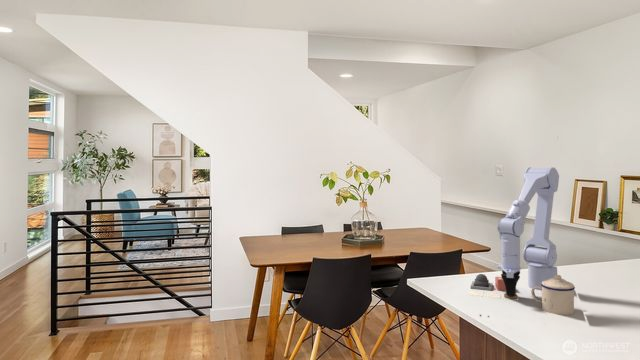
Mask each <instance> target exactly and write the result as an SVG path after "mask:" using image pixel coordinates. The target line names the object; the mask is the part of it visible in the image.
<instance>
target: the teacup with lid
mask: <svg viewBox="0 0 640 360" xmlns="http://www.w3.org/2000/svg"><path fill="white" fill-rule="evenodd" d="M541 286H542V287H541ZM541 286H535V287H533V288H531V296H532V298H533V299H534V300H535V301H536V302H538V303H541V309H542V310H543V311H545V312H546V313H549V314H552V315H562V316H563V315H564V316H567V315H568V316H569V315H573V314H574V313H575V289H576V287H575V285H574V284H573V283H572V282H570V281H567V280H566V279H564V278H562V275H560V274H557V275H554V278H550V279H549V280H544V281H542V283H541ZM537 289H542V290H541V299H540V298H538V297H537V295H536V294H535V290H537Z"/></svg>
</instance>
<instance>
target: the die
mask: <svg viewBox="0 0 640 360" xmlns="http://www.w3.org/2000/svg"><path fill="white" fill-rule="evenodd" d="M494 280H495V282H494V286H495V289H496V290H497V291H501V292H502V291H503V292H506V288H505V283H504V281H503V279H502V277H501V276H495V277H494Z"/></svg>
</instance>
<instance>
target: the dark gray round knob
mask: <svg viewBox="0 0 640 360" xmlns="http://www.w3.org/2000/svg"><path fill="white" fill-rule="evenodd" d="M474 281H475V285H474V286H479V287H489V283H490V280H489V279H488V277H487V276H486V274H483V273H479V274H478V275H476V277H475V279H474Z"/></svg>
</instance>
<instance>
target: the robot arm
mask: <svg viewBox="0 0 640 360" xmlns="http://www.w3.org/2000/svg"><path fill="white" fill-rule="evenodd" d="M559 181H560V174H559V172H558V169H556V167H527V168H526V169H525V171H524V173H523V182H524V184H523V186H522V189H521V192H520V194H519V197H518V199H515V200H513V202H512V203H511V205H510V207H509V209H508V211H507V212H506V214H505V217H503V218H500V220H499V221H498V224H497V227H496V230H497V231H498V234H499V239H500V241H501V243H500V244H501V253H500V255H501V261H500V262H501V264H498V265H497V269H501V275H500V277H502V279H503V281H504V283H505V288H506V291H505V293H507V295H508V296H514V294H515V289H516V290H517V283H518V282H519V280H520V278H521V276H520V274H521V270H522V267H521V236H522V235H523V233H524V229H525V225H526V223H525V219H526V218H527V216H528V214H529V212H530V210H531V205H529V204H530V203H531V200H532V199H533V197H535V194H537V200H536V209H535V216H534V217H535V218H534V225H533V234H532V237H531V238H529V239H528V240H526V241H525V244H524V245H525V246H524V248H523V249H522V258H523V261H524V262H525V263H526V265H528V266H527V267H528V273H527V274H528V283H527V284H528V288H530V289H532V288H533V287H535V286H541V283H542V281H544V280H549V279H550V278H554V275H558V267H557V266H554V265H555V264H556V262H557V259H558V258H557V257H558V254H557V246H556V244H555V243H553V241H551V239H550V229H551V222H552V214H553V213H552V212H553V206H554V196H555V193H556V192H558V189H559ZM541 287H542V286H541ZM537 290H539V291H542V289H536V291H537Z"/></svg>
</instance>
